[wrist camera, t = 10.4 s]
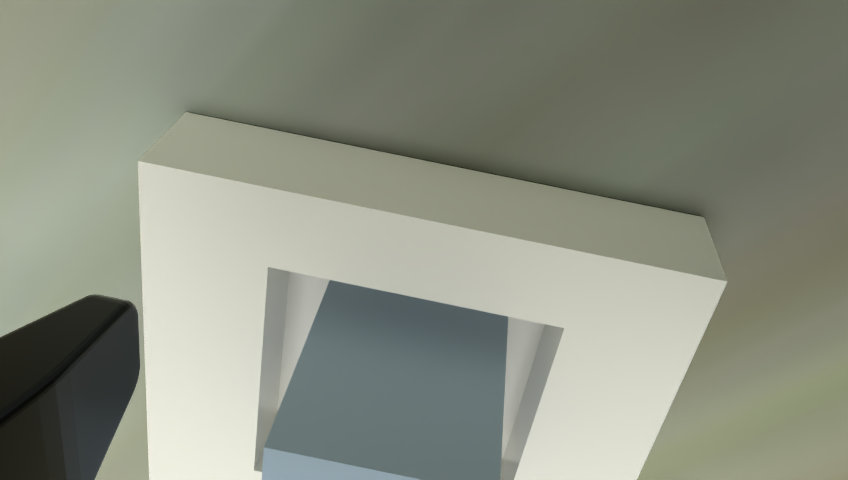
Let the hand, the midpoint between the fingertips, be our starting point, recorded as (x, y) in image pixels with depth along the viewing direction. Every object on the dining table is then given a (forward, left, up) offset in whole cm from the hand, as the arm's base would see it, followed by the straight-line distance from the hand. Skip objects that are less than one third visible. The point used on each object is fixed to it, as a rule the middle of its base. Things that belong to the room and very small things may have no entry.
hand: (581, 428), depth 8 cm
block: (+2, +10, -12) cm, 16 cm away
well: (+2, +10, -13) cm, 17 cm away
